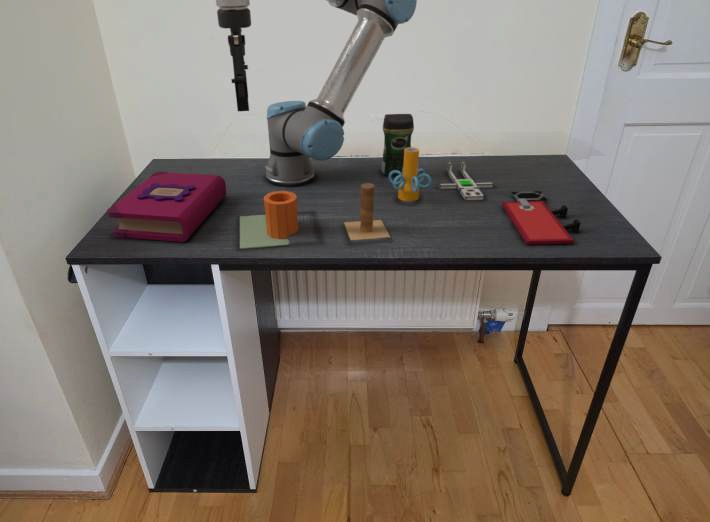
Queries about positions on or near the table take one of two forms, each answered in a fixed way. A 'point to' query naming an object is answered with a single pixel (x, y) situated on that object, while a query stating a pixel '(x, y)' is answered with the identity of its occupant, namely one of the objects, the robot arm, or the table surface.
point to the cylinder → (409, 176)
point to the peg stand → (366, 218)
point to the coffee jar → (396, 141)
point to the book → (167, 206)
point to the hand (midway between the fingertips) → (243, 103)
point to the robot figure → (465, 184)
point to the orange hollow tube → (281, 214)
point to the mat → (257, 233)
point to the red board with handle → (539, 219)
